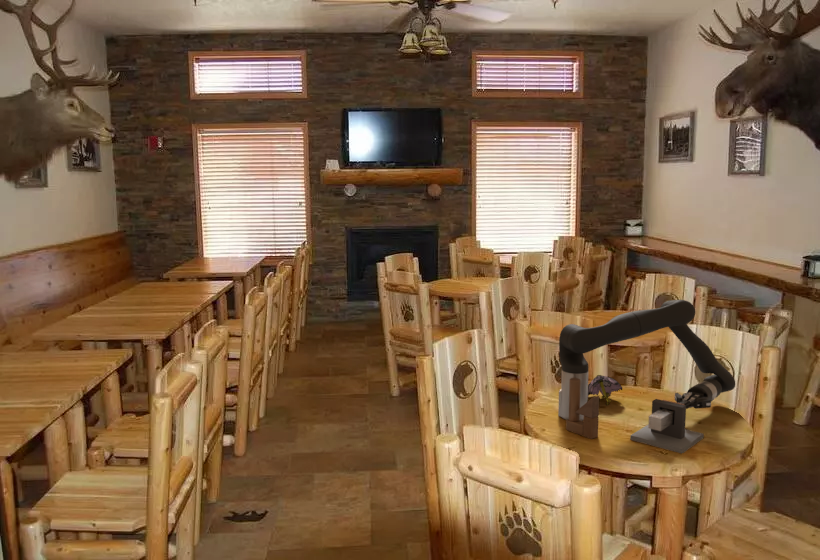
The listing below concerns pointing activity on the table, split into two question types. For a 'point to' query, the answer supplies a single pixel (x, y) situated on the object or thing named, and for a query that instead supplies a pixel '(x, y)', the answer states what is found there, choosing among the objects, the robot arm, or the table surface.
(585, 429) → the wooden block
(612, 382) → the decorative flower
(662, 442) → the base plate
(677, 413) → the rubber collar
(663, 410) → the sliding block
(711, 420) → the table surface
